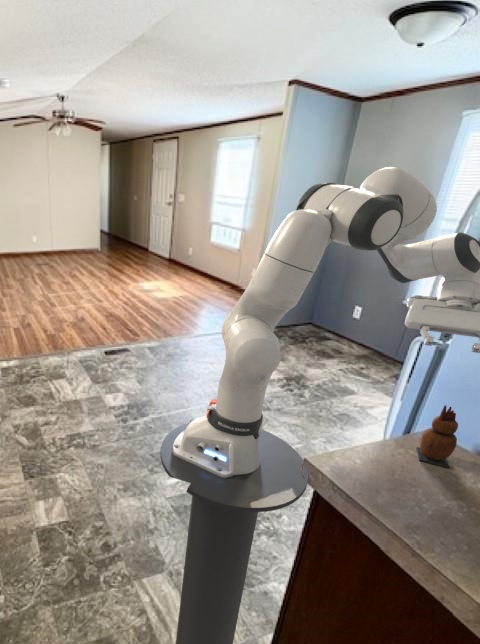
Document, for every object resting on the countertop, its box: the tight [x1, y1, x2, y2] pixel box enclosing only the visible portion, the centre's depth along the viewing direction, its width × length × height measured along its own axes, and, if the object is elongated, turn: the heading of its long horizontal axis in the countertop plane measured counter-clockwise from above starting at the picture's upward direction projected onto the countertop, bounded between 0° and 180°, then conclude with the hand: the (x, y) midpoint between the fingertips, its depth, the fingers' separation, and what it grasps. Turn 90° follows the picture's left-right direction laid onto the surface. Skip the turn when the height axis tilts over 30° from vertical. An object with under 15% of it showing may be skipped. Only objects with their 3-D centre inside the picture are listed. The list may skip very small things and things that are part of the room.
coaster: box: [416, 446, 450, 469], centre depth 107 cm, size 6×6×1 cm
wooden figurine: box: [419, 404, 459, 460], centre depth 104 cm, size 7×6×15 cm
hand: (452, 347), depth 103 cm, fingers open, 8 cm apart
